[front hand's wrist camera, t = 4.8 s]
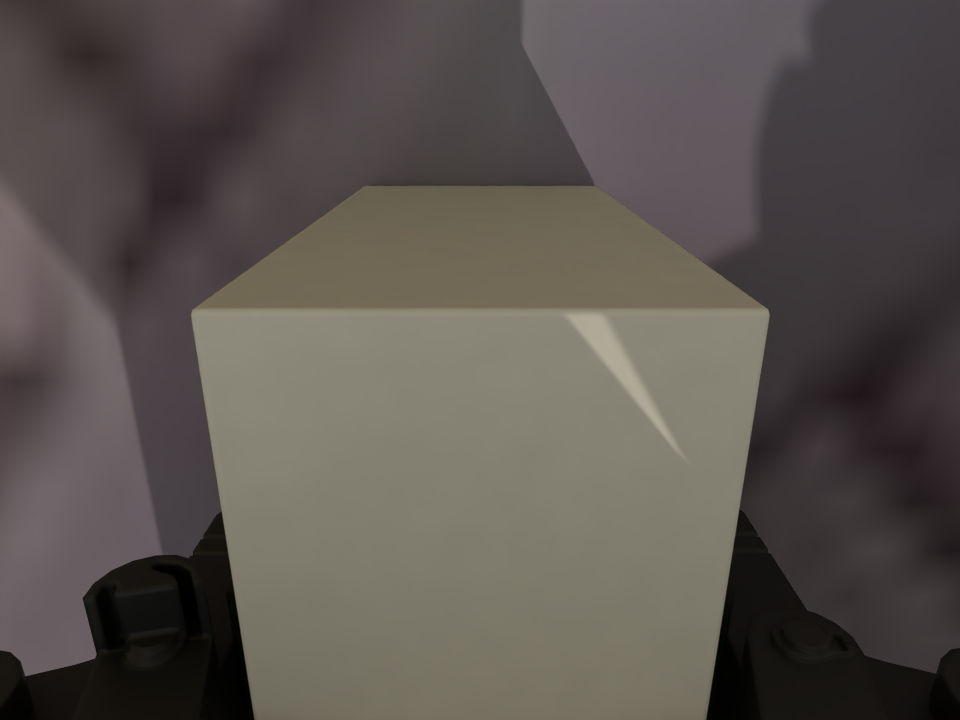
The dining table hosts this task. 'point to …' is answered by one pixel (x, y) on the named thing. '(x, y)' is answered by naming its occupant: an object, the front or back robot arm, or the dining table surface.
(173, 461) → the dining table surface
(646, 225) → the beam
